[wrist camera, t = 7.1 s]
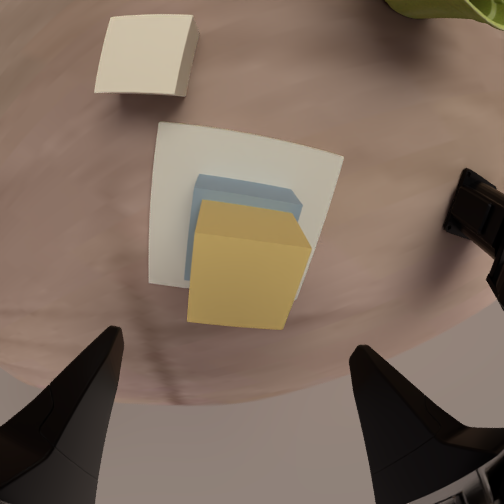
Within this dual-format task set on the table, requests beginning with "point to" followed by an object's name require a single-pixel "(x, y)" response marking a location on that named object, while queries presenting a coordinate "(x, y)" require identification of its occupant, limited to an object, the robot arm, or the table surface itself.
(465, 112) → the table surface
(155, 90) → the brick cream
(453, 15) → the plant pot
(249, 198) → the base brick
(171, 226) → the build plate
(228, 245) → the brick ochre
